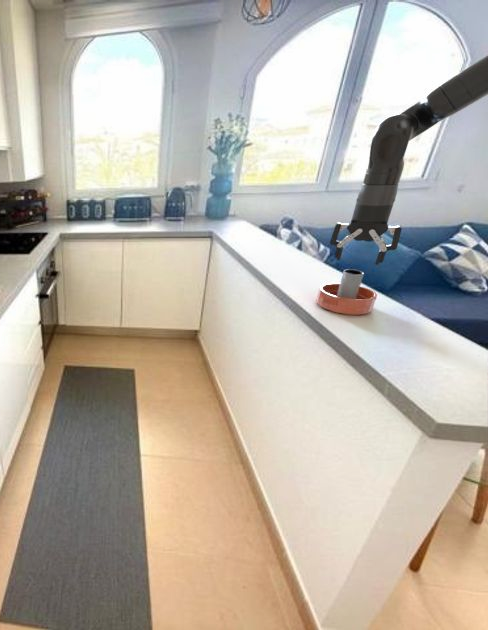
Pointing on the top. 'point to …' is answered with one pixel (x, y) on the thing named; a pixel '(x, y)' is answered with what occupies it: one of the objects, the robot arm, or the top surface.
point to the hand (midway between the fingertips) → (356, 261)
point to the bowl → (346, 300)
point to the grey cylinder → (350, 284)
